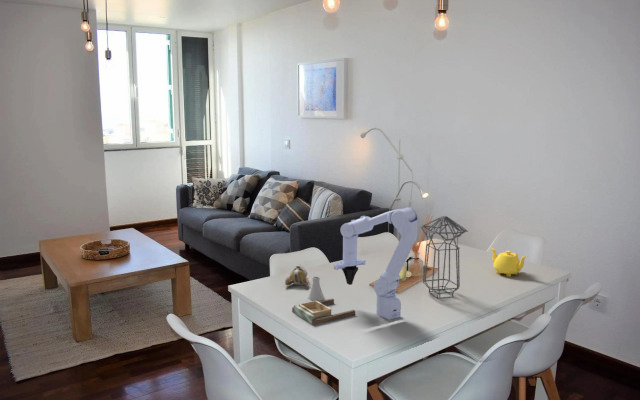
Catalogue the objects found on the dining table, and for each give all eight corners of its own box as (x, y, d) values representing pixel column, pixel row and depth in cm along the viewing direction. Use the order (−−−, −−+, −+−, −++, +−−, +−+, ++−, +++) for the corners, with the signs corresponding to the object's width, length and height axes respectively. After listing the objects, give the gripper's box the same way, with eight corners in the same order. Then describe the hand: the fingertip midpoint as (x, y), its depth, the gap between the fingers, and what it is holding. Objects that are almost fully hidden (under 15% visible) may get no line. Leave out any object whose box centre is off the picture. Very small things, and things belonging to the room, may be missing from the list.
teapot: (534, 275, 262) (536, 252, 260) (517, 281, 253) (519, 257, 251) (499, 266, 277) (500, 244, 275) (481, 271, 268) (483, 249, 266)
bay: (355, 317, 208) (355, 307, 207) (313, 327, 198) (313, 317, 197) (332, 304, 221) (332, 295, 221) (292, 313, 211) (292, 304, 210)
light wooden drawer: (331, 317, 205) (331, 309, 204) (313, 322, 200) (313, 313, 200) (316, 308, 214) (316, 300, 213) (298, 312, 210) (298, 304, 209)
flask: (314, 296, 231) (314, 273, 230) (327, 299, 227) (328, 277, 225) (303, 300, 226) (303, 277, 224) (317, 304, 221) (317, 281, 220)
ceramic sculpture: (311, 261, 252) (307, 272, 238) (311, 278, 254) (307, 290, 240) (288, 260, 254) (283, 272, 239) (289, 277, 256) (284, 290, 241)
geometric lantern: (432, 302, 224) (436, 220, 218) (416, 290, 239) (419, 213, 233) (466, 299, 228) (470, 218, 222) (448, 287, 243) (451, 211, 237)
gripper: (358, 247, 223) (358, 278, 225) (329, 251, 215) (329, 284, 218) (368, 250, 217) (368, 282, 219) (339, 255, 209) (339, 289, 212)
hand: (349, 283), depth 218 cm, fingers closed
